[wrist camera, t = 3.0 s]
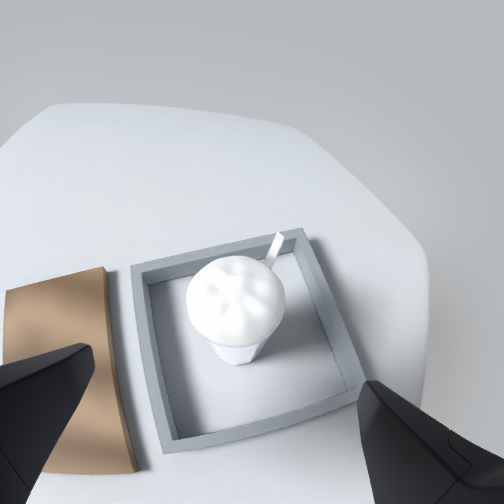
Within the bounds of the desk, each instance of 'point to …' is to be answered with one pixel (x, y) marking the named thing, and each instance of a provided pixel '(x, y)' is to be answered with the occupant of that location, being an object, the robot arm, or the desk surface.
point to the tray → (192, 265)
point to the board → (103, 379)
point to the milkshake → (237, 304)
